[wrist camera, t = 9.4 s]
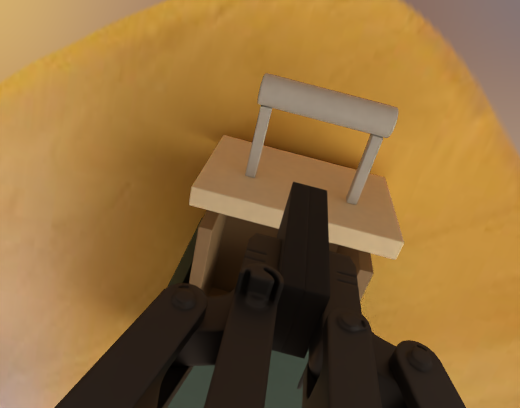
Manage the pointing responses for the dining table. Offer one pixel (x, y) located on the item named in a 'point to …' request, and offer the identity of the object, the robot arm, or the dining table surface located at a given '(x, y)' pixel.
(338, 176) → the drawer
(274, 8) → the dining table surface
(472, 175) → the dining table surface
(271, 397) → the cabinet
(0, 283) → the dining table surface
